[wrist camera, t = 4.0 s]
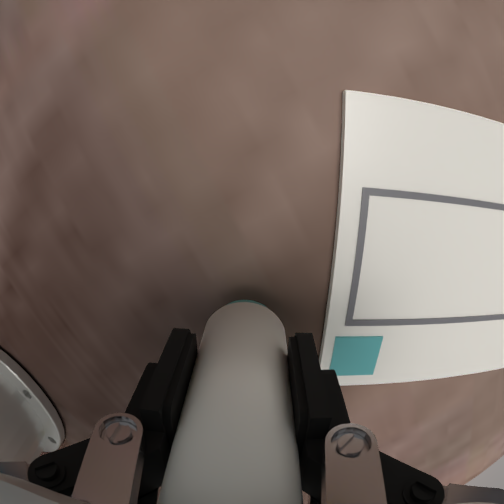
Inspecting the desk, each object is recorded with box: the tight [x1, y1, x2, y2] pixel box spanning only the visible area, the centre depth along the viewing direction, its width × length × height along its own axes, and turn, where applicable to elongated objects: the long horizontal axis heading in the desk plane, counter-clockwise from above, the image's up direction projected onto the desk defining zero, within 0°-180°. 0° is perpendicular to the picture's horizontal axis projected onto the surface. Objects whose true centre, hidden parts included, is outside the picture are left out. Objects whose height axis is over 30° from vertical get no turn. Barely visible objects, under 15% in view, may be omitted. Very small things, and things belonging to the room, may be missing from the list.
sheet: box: [319, 90, 504, 386], centre depth 13 cm, size 14×13×1 cm
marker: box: [157, 300, 303, 504], centre depth 8 cm, size 3×3×12 cm
